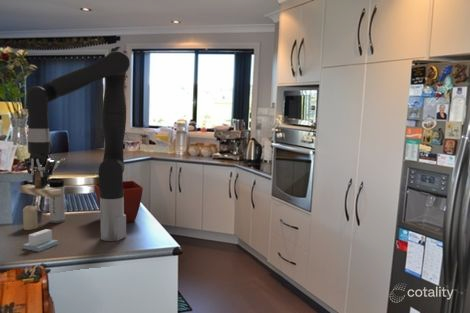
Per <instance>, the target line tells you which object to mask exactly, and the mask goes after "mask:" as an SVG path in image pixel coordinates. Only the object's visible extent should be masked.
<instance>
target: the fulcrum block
mask: <svg viewBox="0 0 470 313" xmlns="http://www.w3.org/2000/svg"><path fill="white" fill-rule="evenodd" d="M57 245H59V241H58V240H56V239H53V230H52V229H47V228H45V229H43V230H39V231H37V232H33V233H30V234H28V242H26V243H24V244H22V248H23V249H24V250H28V251H34V252H38V253H39V252H43V251H45V250H47V249H49V248H52V247H55V246H57Z"/></svg>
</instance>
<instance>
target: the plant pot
mask: <svg viewBox="0 0 470 313" xmlns="http://www.w3.org/2000/svg"><path fill="white" fill-rule="evenodd" d="M93 185H94V192H95V196H96V201H97V204H98V206H99V209H100V191H99V182H96V183H94V184H93ZM123 190H124V215H126V223H131V222H135V221H136V219H137V217H138V216H137V215H138V213H139V209H140V206H141V202H142V196H143V190H144V187H143V186H142V185H140V184H138V183H137V182H136V181H135V180H123Z"/></svg>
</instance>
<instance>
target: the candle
mask: <svg viewBox="0 0 470 313" xmlns="http://www.w3.org/2000/svg"><path fill="white" fill-rule="evenodd" d="M22 221H23V223H22V224H23V230H25V231H32V230H36V229H38V226H39V225H38V208H37V207H36V206H34V205H33V204H31V205H27V206H24V207H23V209H22Z"/></svg>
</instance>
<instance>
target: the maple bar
mask: <svg viewBox="0 0 470 313" xmlns="http://www.w3.org/2000/svg"><path fill="white" fill-rule="evenodd" d="M43 172H44V173H45V171H44V170H43ZM19 193H22V194H28V195H33V196H38V197H44V198H49V199H50V198H55V197H60V196H61V189H55V188H49V186H44V187H42V186H41V174H40V171H39V170H35V186H34V185H33V184H28V183H27V184H23V185H19Z"/></svg>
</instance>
